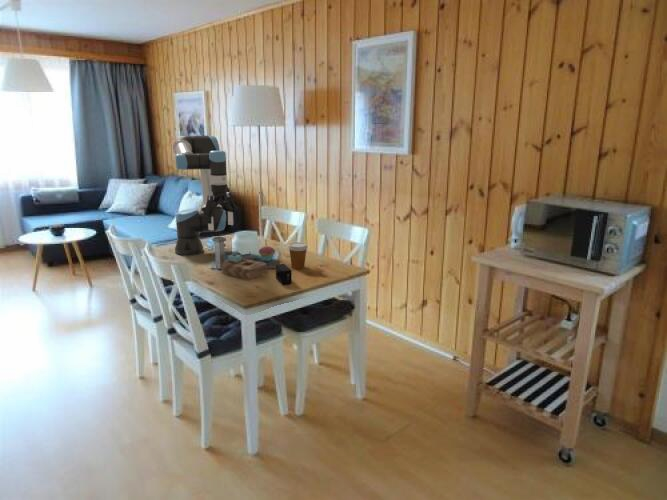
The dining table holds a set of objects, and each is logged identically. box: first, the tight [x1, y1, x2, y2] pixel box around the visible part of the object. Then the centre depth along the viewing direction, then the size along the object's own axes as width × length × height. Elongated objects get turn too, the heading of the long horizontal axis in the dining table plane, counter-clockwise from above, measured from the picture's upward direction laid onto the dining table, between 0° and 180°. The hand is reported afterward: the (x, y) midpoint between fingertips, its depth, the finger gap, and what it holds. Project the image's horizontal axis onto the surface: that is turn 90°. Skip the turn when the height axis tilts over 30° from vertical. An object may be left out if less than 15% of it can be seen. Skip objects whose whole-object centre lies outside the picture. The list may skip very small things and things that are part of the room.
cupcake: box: [258, 239, 276, 262], centre depth 242 cm, size 9×8×12 cm
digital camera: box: [275, 263, 292, 286], centre depth 212 cm, size 10×5×7 cm, turn 25°
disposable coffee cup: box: [288, 242, 308, 270], centre depth 231 cm, size 10×10×12 cm
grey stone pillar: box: [211, 236, 227, 270], centre depth 227 cm, size 5×5×16 cm
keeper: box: [227, 253, 243, 262], centre depth 224 cm, size 5×4×3 cm
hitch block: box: [221, 257, 268, 281], centre depth 222 cm, size 18×12×6 cm, turn 58°
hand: (221, 227), depth 224 cm, fingers open, 13 cm apart
